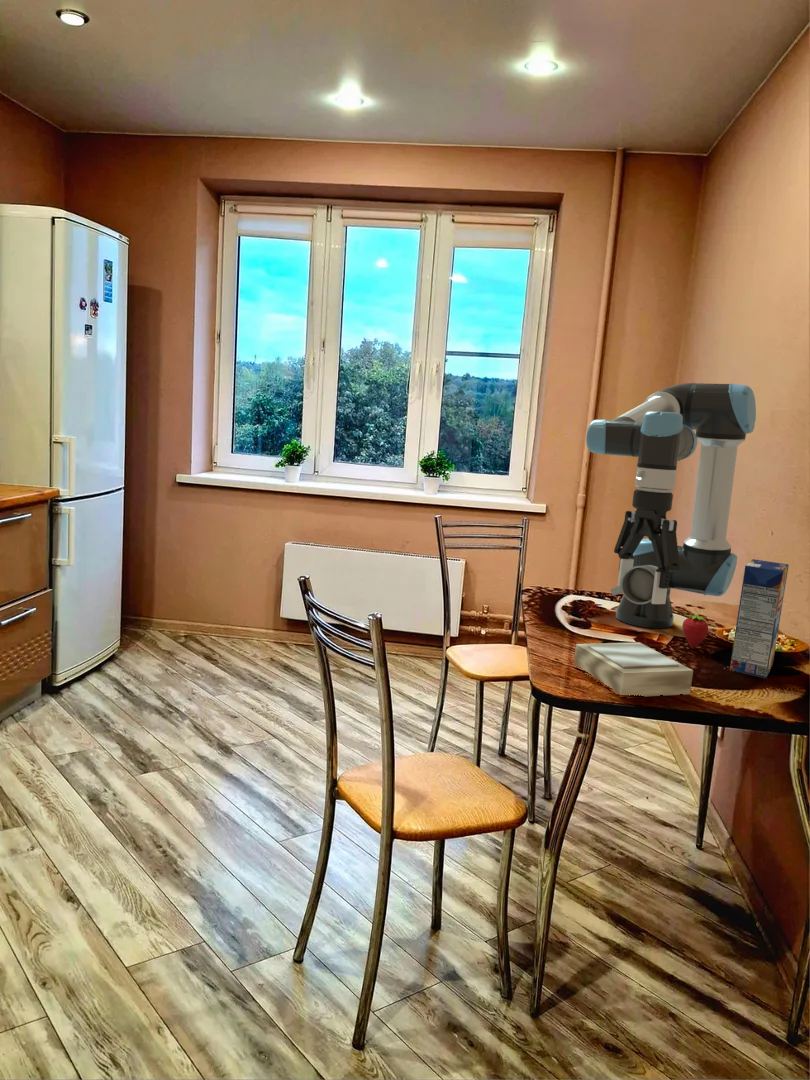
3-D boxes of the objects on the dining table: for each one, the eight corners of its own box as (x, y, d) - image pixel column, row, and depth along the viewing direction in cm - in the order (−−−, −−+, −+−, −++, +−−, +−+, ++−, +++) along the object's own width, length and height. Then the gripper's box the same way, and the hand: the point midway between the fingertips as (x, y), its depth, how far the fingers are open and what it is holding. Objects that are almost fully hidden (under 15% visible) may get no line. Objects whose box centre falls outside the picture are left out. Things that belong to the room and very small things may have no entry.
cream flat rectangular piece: (573, 666, 157) (576, 642, 156) (636, 663, 161) (639, 640, 161) (620, 697, 140) (624, 671, 139) (689, 694, 144) (693, 668, 144)
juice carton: (738, 657, 172) (753, 559, 168) (772, 665, 168) (788, 564, 164) (729, 670, 162) (745, 565, 158) (766, 678, 158) (783, 571, 154)
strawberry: (681, 651, 173) (687, 611, 172) (677, 642, 181) (682, 604, 179) (707, 654, 172) (713, 614, 170) (702, 646, 179) (708, 607, 178)
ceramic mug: (668, 601, 149) (672, 564, 148) (656, 607, 142) (660, 569, 141) (618, 592, 155) (621, 557, 154) (604, 598, 148) (607, 561, 147)
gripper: (604, 483, 154) (593, 582, 158) (675, 496, 132) (660, 611, 135) (635, 484, 156) (623, 582, 160) (709, 497, 134) (693, 611, 138)
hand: (640, 596), depth 148 cm, fingers closed on ceramic mug, 11 cm apart
